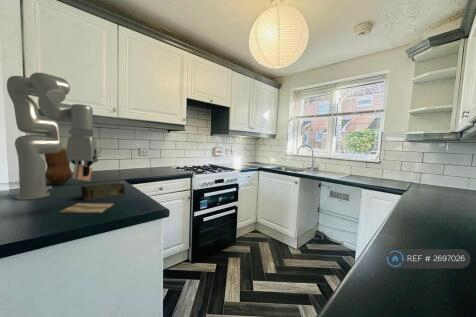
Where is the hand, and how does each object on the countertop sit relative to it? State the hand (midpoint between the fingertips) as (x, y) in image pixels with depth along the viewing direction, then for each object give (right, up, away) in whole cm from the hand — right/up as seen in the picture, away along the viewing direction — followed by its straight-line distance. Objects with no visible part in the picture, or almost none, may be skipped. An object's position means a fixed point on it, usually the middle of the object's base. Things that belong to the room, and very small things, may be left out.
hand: (83, 175), depth 89 cm
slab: (0, -2, -1) cm, 2 cm away
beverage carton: (-5, -14, +22) cm, 26 cm away
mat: (+1, -15, +1) cm, 15 cm away
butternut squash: (-50, -10, +45) cm, 68 cm away
